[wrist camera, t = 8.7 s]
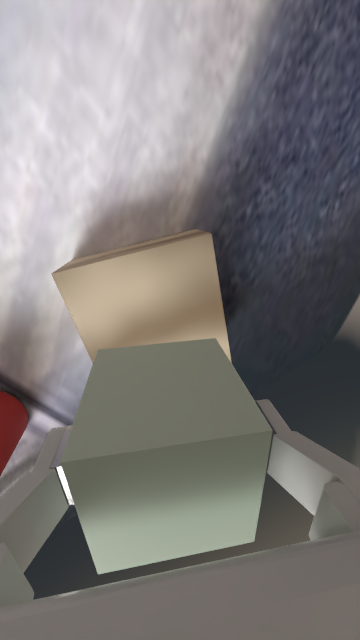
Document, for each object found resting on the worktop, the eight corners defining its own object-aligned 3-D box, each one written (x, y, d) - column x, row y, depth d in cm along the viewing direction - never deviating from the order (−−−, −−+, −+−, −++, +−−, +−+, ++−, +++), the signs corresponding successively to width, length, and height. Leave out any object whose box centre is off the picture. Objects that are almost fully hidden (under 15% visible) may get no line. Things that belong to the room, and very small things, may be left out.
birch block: (73, 259, 19) (51, 273, 14) (195, 228, 19) (211, 233, 15) (115, 361, 23) (108, 397, 19) (214, 334, 24) (231, 363, 19)
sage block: (97, 349, 10) (60, 462, 5) (215, 337, 10) (272, 430, 6) (114, 437, 12) (98, 574, 7) (213, 423, 12) (254, 541, 8)
